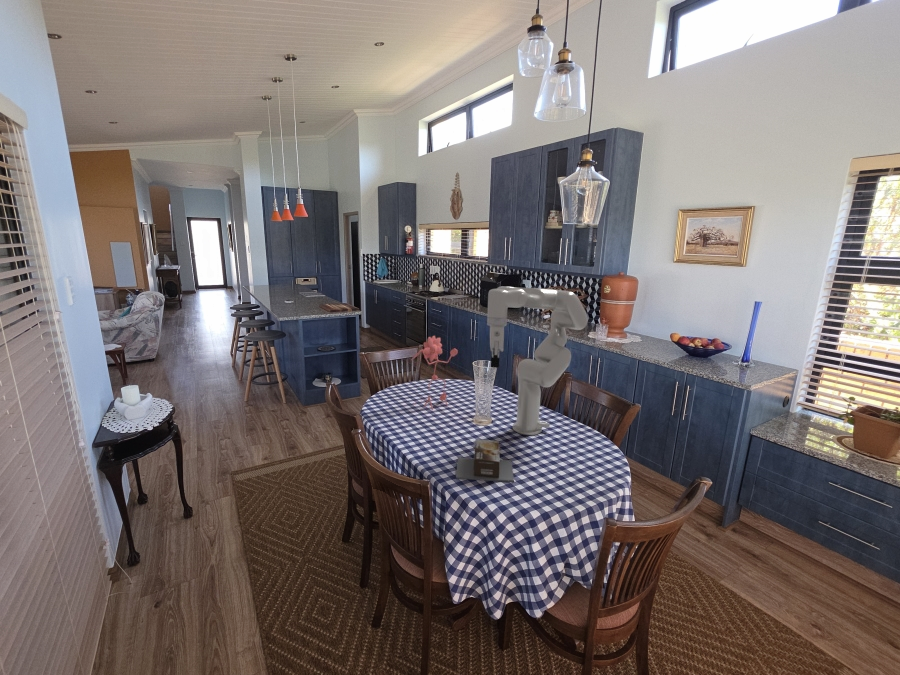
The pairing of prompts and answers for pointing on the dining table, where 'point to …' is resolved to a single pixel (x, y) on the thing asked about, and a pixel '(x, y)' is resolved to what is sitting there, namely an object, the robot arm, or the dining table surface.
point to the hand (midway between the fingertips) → (494, 366)
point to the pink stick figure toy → (432, 352)
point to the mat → (467, 472)
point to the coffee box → (486, 458)
